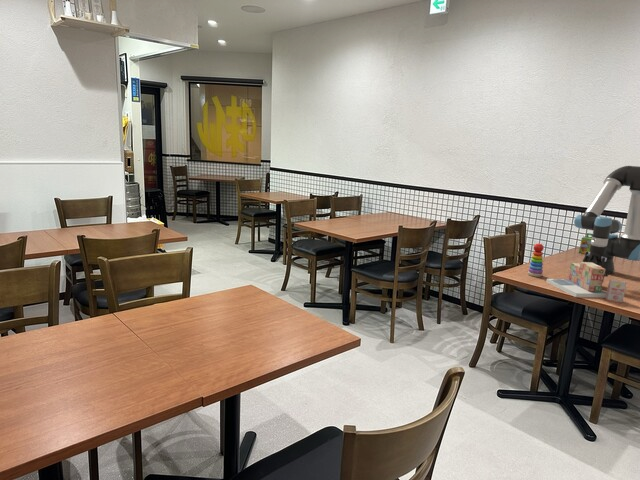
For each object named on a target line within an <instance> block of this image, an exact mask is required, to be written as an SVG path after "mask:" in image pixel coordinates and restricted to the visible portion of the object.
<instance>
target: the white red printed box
mask: <svg viewBox="0 0 640 480" xmlns="http://www.w3.org/2000/svg"><path fill="white" fill-rule="evenodd" d="M626 287H627V282H625V281H619V280H614V279H609V281H608V285H607V289H606V298H605V301H608V302H609V301H610V302H613V303H621V304H623V302H624V298H625V292H626Z"/></svg>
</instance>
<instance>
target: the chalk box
mask: <svg viewBox="0 0 640 480" xmlns="http://www.w3.org/2000/svg"><path fill="white" fill-rule="evenodd" d="M592 235H593V233H589V232H587V233H586V235H585V236H582V237H581V240H580V245H579V250H578V253H579V254H582V255H585V254H586V252H590V251H589V250H590V245H591V240H592Z"/></svg>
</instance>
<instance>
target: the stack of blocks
mask: <svg viewBox="0 0 640 480" xmlns="http://www.w3.org/2000/svg"><path fill="white" fill-rule="evenodd" d="M604 274H605V269H604V268H602V267H601V266H599V265H596V264H594V263H592V262H582V261H580V263H579V262H571V263H570V266H569V276H568V279H570V280H571V281H573V282H575V283H576V284H578V285H580V286H581V287H583V288H584V289H586V290H587V291H592V292H601V290H602V286H603V283H604V280H605V277H604ZM603 279H604V280H603Z"/></svg>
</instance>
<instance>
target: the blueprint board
mask: <svg viewBox="0 0 640 480" xmlns="http://www.w3.org/2000/svg"><path fill="white" fill-rule="evenodd" d="M545 282H546V283H547V284H549V285H551V286H553V287H555V288H557V289H558V290H561V291H563V292H565V293H567V294H568V295H571V296H573V297H574V298H599V299H601V298H605V299H606V293H607V291H604V290H603V289H601V292H592V291H587V290H586V289H584V288H583V287H581V286H580V285H578V284H576V283H575V282H573V281H571V280H570V279H569V278H546V281H545Z"/></svg>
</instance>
